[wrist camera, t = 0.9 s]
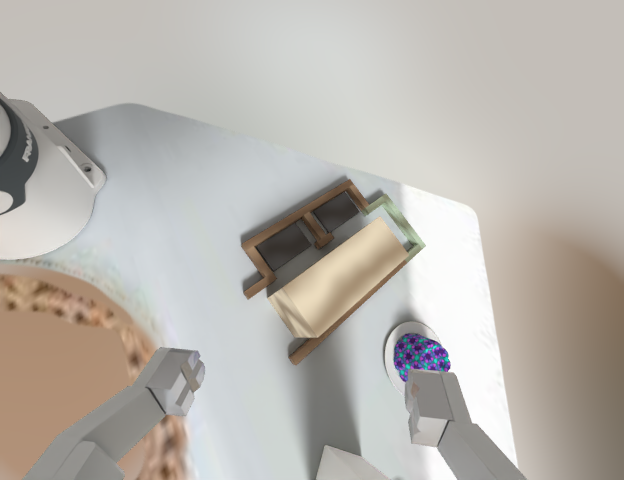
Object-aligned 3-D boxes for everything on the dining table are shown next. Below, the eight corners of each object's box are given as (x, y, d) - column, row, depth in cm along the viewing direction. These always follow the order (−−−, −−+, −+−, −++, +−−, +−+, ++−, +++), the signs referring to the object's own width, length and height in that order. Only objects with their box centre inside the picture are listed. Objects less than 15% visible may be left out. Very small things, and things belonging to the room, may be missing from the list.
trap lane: (219, 259, 41) (220, 256, 39) (363, 172, 55) (367, 168, 54) (293, 364, 40) (296, 365, 38) (420, 247, 54) (425, 245, 52)
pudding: (426, 313, 50) (448, 310, 45) (453, 383, 47) (479, 388, 43) (372, 334, 45) (390, 333, 41) (398, 413, 43) (421, 422, 38)
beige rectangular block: (267, 298, 41) (282, 287, 32) (349, 237, 49) (380, 216, 41) (294, 337, 41) (317, 337, 32) (373, 270, 49) (409, 255, 40)
